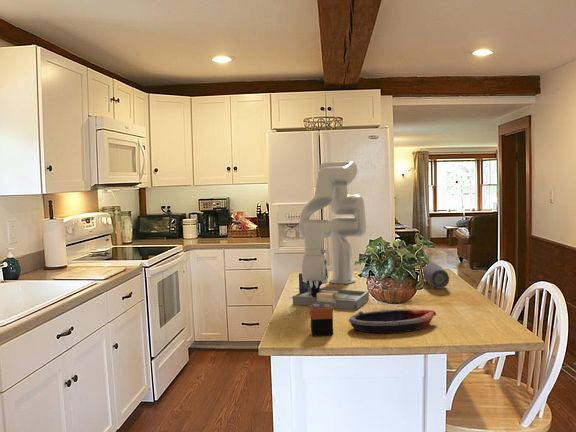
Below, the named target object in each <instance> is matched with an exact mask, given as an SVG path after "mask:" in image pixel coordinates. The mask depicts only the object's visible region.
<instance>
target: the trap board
mask: <svg viewBox="0 0 576 432" xmlns="http://www.w3.org/2000/svg"><path fill="white" fill-rule="evenodd" d="M322 290H330V291H338V299H336V300H335V301H333V302H324V301H317V298H316V297H312V295H311V287H308V291H307V292H306V293H304V294H300V295H292V305H297V306H307V307H311V306H313V304H319V305H320V306H322V305H324V304H329V305H330V306H331V307H332V309H342V310H343V309H344V310H352V311H353V310H355V311H357V310H359V309H360V308H361V307H362V306H363V305H365V304H366V303H367V302H369V300H370V292H369V291H365V290H354V289H353V290H352V289H339V288H338V289H337V288H336V289H335V288H323V287H320V288H319V292H320V291H322Z"/></svg>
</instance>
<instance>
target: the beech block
mask: <svg viewBox="0 0 576 432" xmlns="http://www.w3.org/2000/svg"><path fill="white" fill-rule="evenodd" d="M336 299H338V291H330V290H322V291H320V292H318V293H317V301H324V302H333V301H335V300H336Z"/></svg>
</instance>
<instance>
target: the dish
mask: <svg viewBox="0 0 576 432" xmlns="http://www.w3.org/2000/svg"><path fill="white" fill-rule="evenodd" d="M436 316H437V313H436V311H435V310H431V309H415V308H414V309H413V308H412V309H411V308H408V309H407V308H402V309H401V308H400V309H399V308H397V309H394V308H393V309H383V310H381V309H380V310H372V311H366V312H365V311H364V312H363V311H358V313H355V314H353V315H351V316H350V317H349V318H348V321H349V323H350V325H351V327H352V328H353V329H355V330H357V331H360V332H366V333H376V334H377V333H378V334H387V333H388V334H389V333H390V334H391V333H401V332H403V333H404V332H409V331H410V332H411V331H416V330H419V329H423V328H425V327H426V326H428V325H429V324H431V322H432V320H433V319H434V317H436Z"/></svg>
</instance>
